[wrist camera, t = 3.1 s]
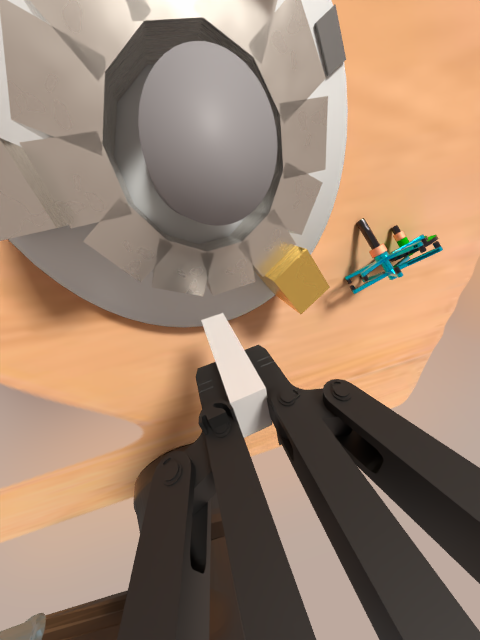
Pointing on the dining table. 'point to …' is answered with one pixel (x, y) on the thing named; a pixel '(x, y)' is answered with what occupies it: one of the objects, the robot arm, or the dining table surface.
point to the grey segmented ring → (100, 127)
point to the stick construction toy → (391, 255)
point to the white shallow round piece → (192, 170)
